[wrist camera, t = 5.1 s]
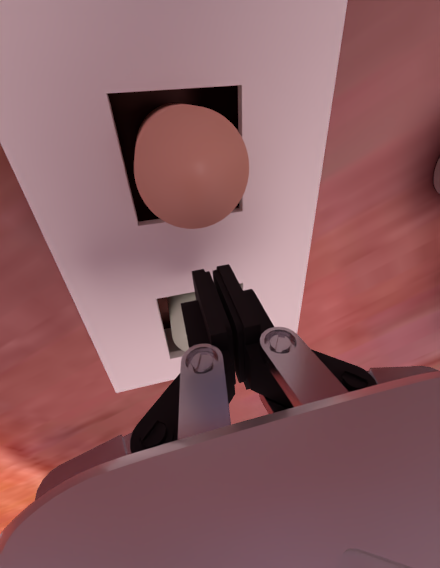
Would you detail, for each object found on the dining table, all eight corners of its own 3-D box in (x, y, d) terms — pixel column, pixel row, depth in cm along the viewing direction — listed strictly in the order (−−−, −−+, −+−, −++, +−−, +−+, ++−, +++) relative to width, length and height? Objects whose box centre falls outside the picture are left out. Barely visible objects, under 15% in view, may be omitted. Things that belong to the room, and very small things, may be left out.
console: (-204, -507, 7) (-717, -1406, 3) (319, -383, 9) (464, -772, 5) (120, 343, 24) (116, 393, 20) (270, 312, 26) (294, 351, 22)
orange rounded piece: (125, 106, 13) (119, 110, 9) (217, 99, 14) (249, 101, 10) (145, 199, 15) (147, 235, 11) (221, 189, 16) (248, 221, 12)
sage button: (161, 268, 20) (166, 311, 16) (219, 258, 21) (238, 297, 17) (170, 313, 23) (177, 360, 19) (222, 303, 23) (239, 346, 19)
